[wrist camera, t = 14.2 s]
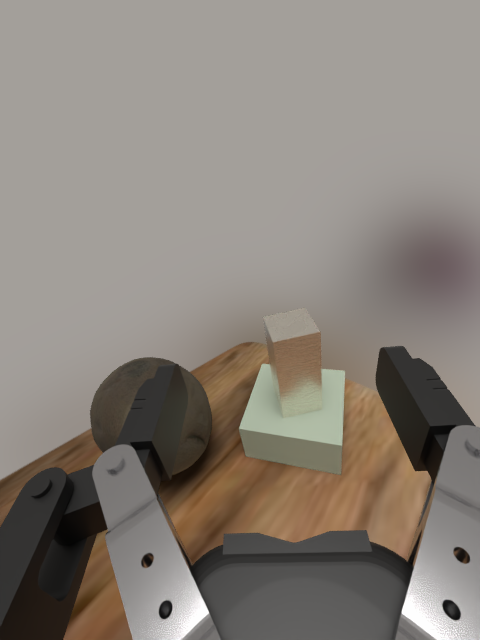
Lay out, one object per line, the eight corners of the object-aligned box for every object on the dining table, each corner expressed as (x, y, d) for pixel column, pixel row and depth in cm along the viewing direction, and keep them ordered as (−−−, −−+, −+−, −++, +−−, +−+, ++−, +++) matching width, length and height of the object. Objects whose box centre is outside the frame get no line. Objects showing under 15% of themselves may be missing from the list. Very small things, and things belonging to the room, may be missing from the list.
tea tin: (283, 418, 37) (272, 342, 31) (273, 389, 41) (262, 316, 35) (322, 409, 37) (320, 331, 31) (308, 381, 42) (304, 307, 35)
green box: (246, 457, 40) (238, 428, 37) (266, 391, 50) (262, 363, 46) (341, 476, 36) (342, 445, 33) (343, 400, 46) (344, 370, 42)
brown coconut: (204, 400, 50) (180, 324, 42) (235, 474, 38) (210, 389, 30) (117, 435, 46) (74, 361, 38) (122, 528, 35) (61, 449, 27)
